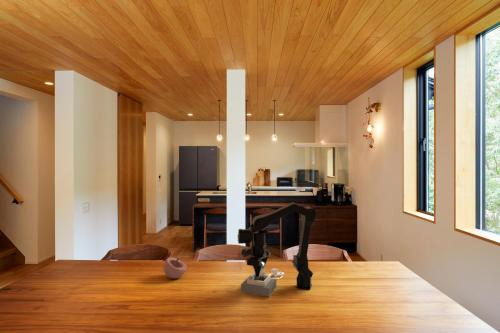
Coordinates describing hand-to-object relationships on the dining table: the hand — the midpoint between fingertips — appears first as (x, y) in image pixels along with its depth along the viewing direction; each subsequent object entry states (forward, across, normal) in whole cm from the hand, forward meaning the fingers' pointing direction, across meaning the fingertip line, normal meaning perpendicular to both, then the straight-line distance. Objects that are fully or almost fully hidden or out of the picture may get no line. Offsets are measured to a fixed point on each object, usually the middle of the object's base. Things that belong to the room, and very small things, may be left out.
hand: (259, 274), depth 149 cm
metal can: (+2, 0, 0) cm, 2 cm away
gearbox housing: (+7, 0, 0) cm, 7 cm away
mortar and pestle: (+8, +1, -47) cm, 48 cm away
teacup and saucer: (+8, -19, +5) cm, 21 cm away
